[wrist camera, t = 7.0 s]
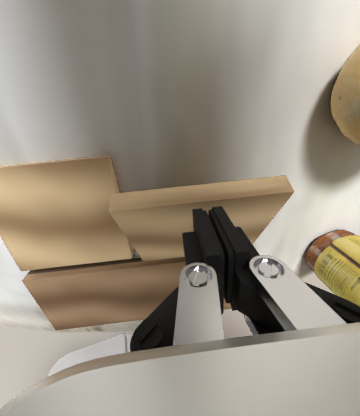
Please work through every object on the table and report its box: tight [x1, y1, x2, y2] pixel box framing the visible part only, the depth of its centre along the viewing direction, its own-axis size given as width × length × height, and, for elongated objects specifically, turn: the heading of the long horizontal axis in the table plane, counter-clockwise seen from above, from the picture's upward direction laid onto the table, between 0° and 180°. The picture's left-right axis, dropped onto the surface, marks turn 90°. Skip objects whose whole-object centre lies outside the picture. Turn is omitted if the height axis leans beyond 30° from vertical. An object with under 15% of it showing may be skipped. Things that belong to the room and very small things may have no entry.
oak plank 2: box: [109, 175, 294, 261], centre depth 15 cm, size 10×11×1 cm
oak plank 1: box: [0, 155, 134, 271], centre depth 17 cm, size 10×11×1 cm
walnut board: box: [22, 257, 231, 330], centre depth 22 cm, size 9×24×1 cm, turn 95°
